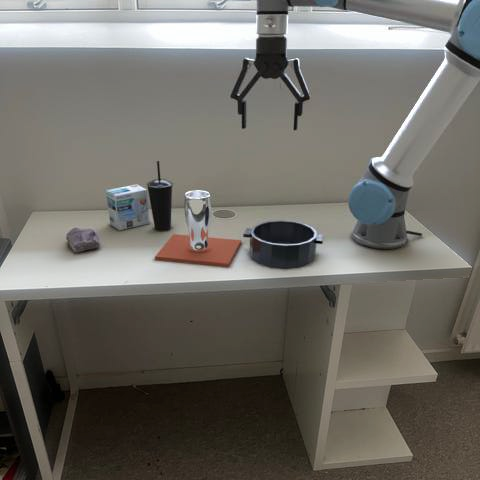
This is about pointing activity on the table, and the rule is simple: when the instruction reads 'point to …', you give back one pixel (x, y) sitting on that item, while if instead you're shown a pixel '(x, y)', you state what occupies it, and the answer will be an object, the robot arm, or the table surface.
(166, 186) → the drinking cup
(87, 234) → the rock
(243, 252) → the table surface
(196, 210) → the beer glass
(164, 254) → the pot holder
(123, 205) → the light bulb box
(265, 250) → the pot
